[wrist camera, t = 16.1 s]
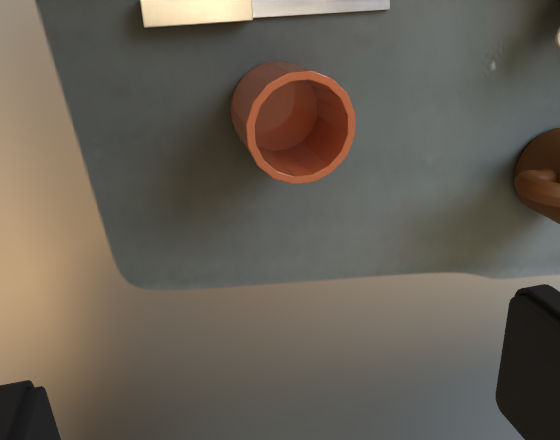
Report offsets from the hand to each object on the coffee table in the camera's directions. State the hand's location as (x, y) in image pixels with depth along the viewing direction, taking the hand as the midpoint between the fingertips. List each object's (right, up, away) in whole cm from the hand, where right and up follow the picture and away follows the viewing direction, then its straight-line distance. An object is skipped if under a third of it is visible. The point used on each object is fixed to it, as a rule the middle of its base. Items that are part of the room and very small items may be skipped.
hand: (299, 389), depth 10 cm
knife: (-1, +18, +24) cm, 30 cm away
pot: (-1, +11, +27) cm, 29 cm away
